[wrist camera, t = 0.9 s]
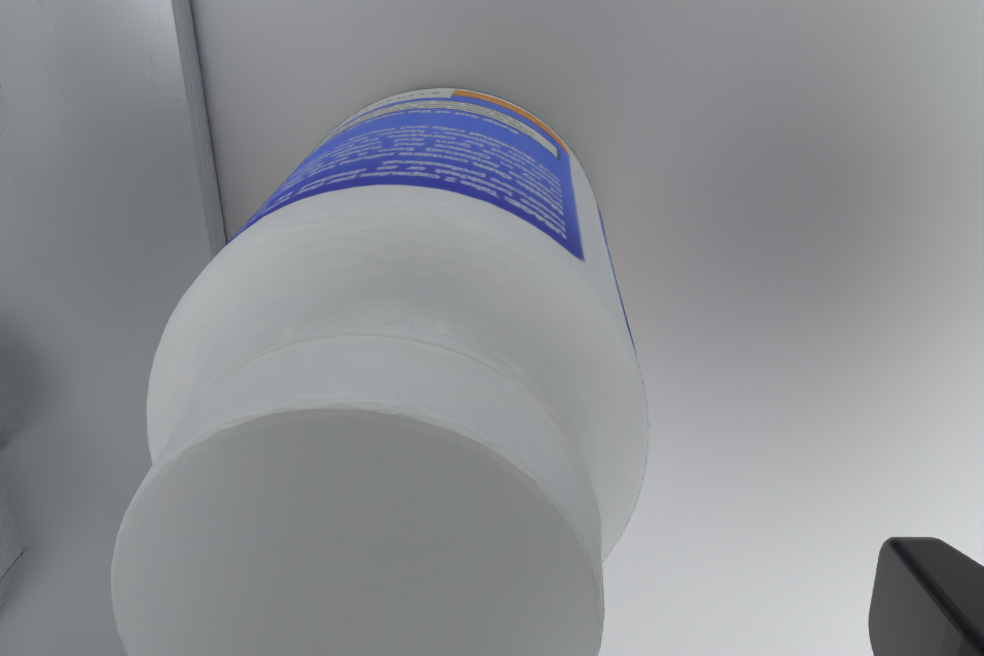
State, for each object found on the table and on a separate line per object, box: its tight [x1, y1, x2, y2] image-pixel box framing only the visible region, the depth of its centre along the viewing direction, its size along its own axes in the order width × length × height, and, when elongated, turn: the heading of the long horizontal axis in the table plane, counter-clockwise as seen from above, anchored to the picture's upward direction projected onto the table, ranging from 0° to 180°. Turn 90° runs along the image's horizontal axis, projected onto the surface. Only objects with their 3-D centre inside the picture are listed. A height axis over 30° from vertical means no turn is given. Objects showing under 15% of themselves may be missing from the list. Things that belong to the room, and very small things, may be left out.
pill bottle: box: [111, 88, 649, 656], centre depth 12 cm, size 5×5×10 cm
